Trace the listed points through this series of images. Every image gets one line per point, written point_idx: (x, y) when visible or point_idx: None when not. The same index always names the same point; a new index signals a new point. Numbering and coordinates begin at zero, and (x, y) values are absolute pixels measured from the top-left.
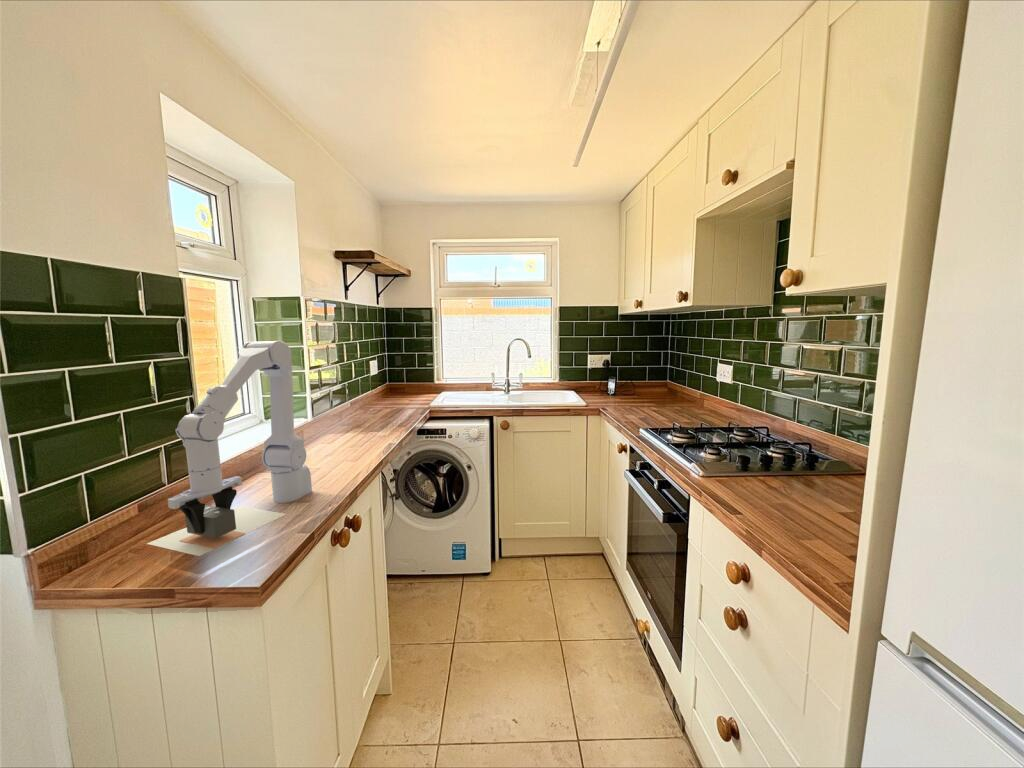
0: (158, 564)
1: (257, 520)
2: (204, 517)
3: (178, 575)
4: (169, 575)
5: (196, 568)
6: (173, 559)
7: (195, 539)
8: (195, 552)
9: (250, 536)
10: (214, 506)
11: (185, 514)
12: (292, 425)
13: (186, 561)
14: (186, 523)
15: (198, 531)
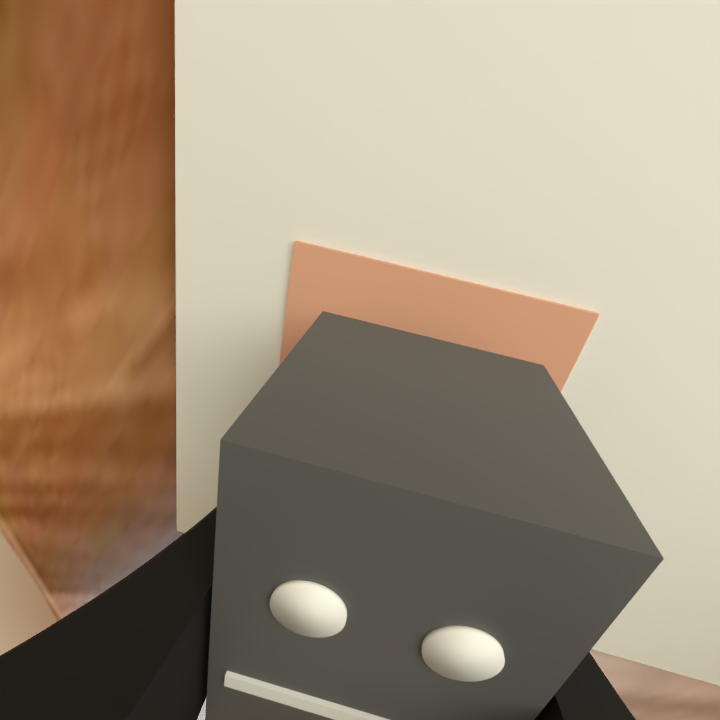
0: (76, 335)
1: (686, 589)
2: (211, 711)
3: (68, 513)
4: (50, 478)
5: (133, 544)
6: (145, 376)
7: None
8: (197, 489)
9: None
10: (547, 699)
11: (53, 632)
12: None
13: (157, 462)
14: (292, 353)
15: None
